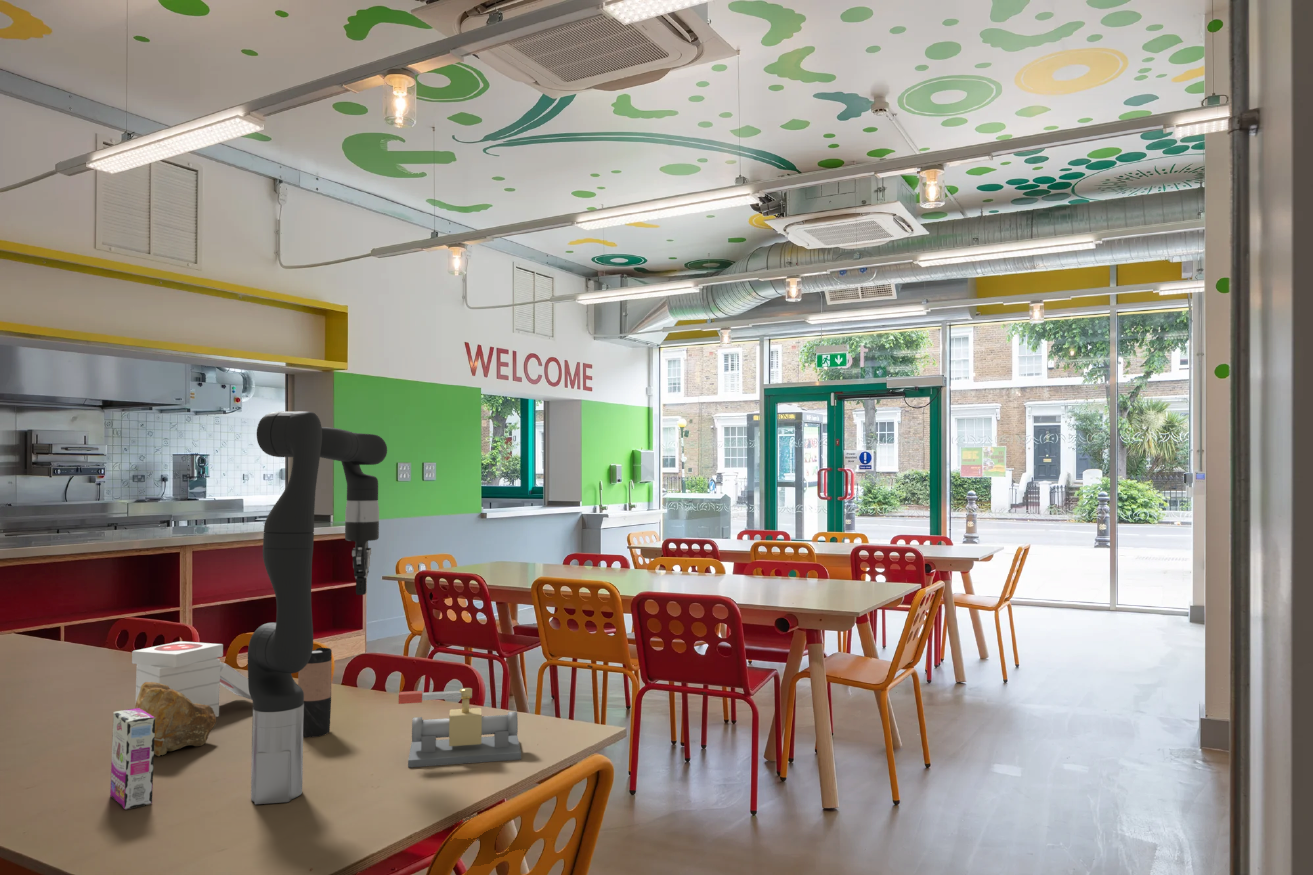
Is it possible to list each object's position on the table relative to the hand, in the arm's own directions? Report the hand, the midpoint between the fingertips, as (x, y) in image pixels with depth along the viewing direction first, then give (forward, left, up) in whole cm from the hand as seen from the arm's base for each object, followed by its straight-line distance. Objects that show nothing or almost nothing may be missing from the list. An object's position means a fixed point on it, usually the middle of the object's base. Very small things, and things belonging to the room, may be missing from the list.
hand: (361, 594), depth 205 cm
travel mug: (+14, +12, -35) cm, 40 cm away
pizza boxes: (+41, +45, -35) cm, 71 cm away
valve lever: (-11, -17, -23) cm, 31 cm away
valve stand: (-11, -24, -35) cm, 44 cm away
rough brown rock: (+10, +42, -35) cm, 56 cm away
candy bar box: (-26, +39, -35) cm, 59 cm away
